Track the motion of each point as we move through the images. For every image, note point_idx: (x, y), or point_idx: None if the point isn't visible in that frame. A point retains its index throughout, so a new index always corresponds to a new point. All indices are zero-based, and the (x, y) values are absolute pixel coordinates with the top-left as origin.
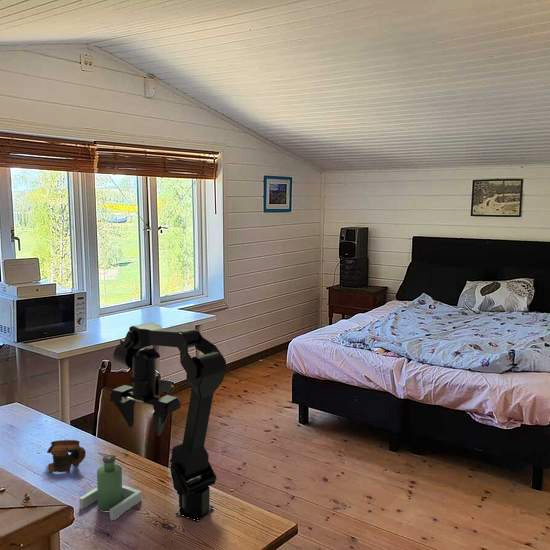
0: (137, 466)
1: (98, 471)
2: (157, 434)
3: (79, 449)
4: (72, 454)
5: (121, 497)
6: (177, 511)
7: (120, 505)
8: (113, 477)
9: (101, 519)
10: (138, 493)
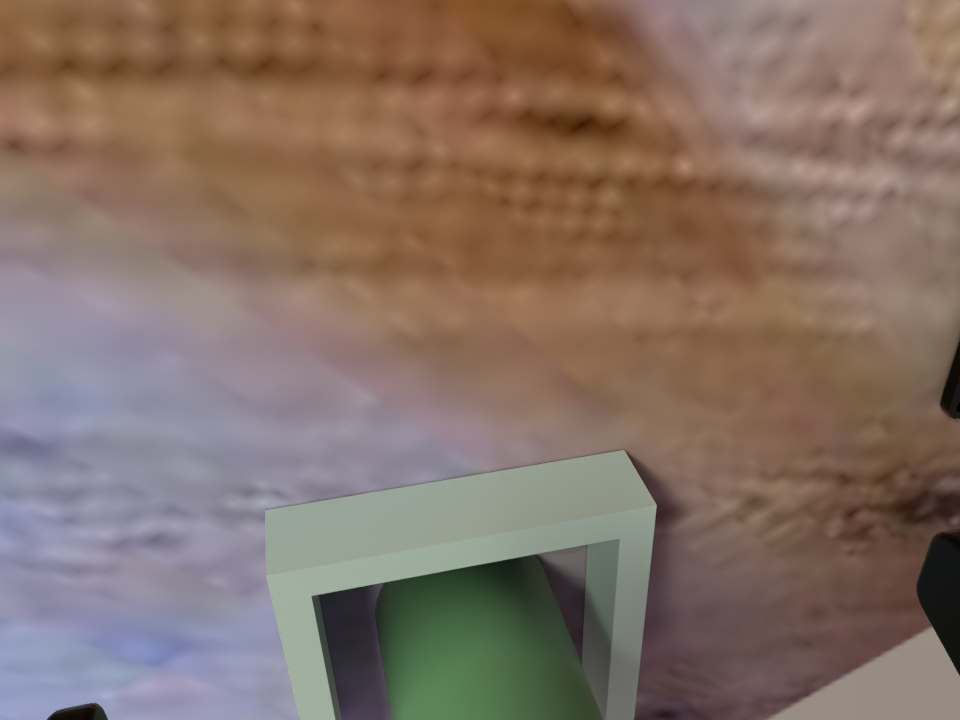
0: (59, 44)
1: None
2: (945, 623)
3: None
4: None
5: (562, 617)
6: (955, 402)
7: (638, 672)
8: None
9: None
10: (652, 531)
